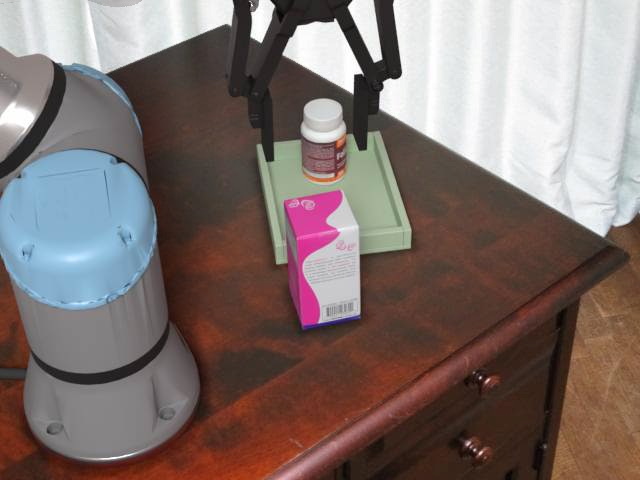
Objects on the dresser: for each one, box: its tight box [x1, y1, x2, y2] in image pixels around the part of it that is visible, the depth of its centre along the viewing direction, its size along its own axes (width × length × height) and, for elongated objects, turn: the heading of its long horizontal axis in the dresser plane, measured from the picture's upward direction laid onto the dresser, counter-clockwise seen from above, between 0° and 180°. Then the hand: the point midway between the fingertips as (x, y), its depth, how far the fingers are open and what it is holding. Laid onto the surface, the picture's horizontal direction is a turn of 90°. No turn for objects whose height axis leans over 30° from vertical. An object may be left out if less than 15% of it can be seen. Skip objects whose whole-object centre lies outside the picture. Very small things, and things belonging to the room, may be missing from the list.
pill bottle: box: [300, 98, 347, 185], centre depth 121 cm, size 5×5×8 cm
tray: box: [255, 130, 413, 265], centre depth 120 cm, size 14×17×2 cm
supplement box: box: [284, 190, 362, 330], centre depth 106 cm, size 6×6×12 cm
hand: (314, 147), depth 105 cm, fingers open, 8 cm apart
